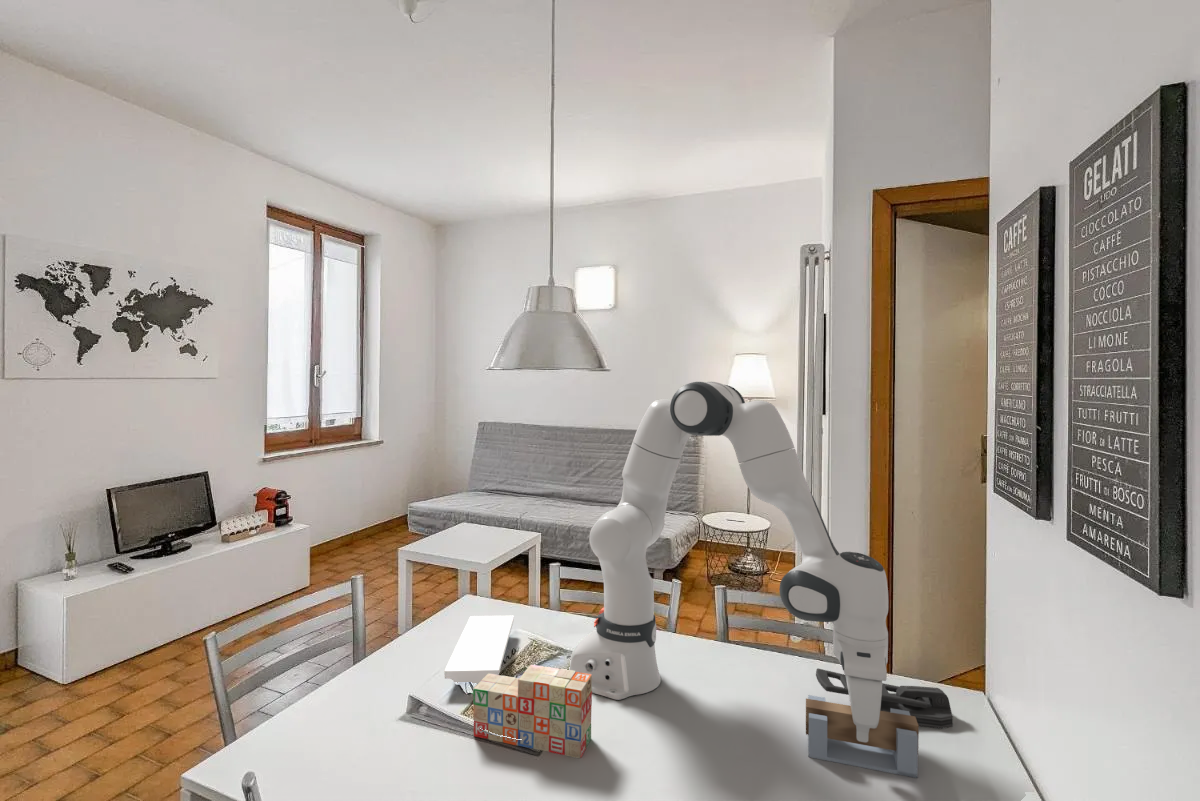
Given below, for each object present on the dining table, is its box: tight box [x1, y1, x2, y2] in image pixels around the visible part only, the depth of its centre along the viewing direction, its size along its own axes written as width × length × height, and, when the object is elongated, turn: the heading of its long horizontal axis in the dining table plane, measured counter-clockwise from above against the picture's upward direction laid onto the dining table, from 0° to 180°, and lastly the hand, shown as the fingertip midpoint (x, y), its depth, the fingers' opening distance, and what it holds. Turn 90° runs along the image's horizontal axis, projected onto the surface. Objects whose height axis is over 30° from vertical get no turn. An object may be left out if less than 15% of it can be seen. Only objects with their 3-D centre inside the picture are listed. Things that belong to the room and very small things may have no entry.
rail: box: [805, 698, 920, 751], centre depth 102 cm, size 18×3×5 cm, turn 71°
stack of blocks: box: [472, 664, 593, 759], centre depth 107 cm, size 21×6×12 cm, turn 73°
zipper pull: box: [815, 668, 953, 730], centre depth 115 cm, size 9×7×25 cm
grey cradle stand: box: [807, 694, 919, 779], centre depth 102 cm, size 17×8×7 cm, turn 71°
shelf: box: [443, 615, 515, 683], centre depth 137 cm, size 12×30×5 cm, turn 2°
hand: (859, 724), depth 102 cm, fingers open, 8 cm apart
